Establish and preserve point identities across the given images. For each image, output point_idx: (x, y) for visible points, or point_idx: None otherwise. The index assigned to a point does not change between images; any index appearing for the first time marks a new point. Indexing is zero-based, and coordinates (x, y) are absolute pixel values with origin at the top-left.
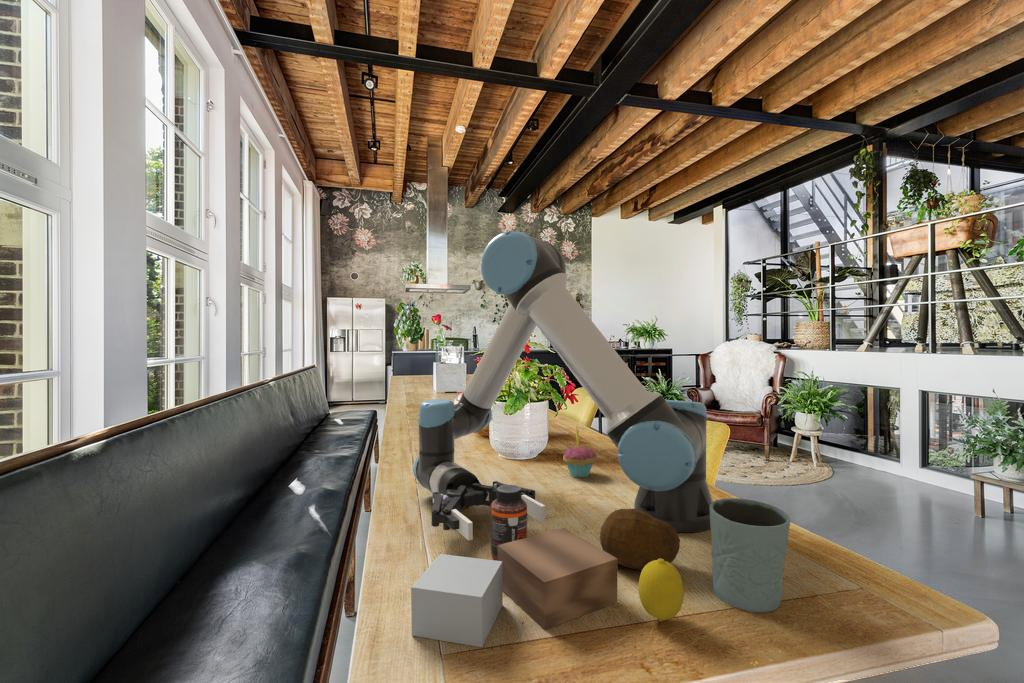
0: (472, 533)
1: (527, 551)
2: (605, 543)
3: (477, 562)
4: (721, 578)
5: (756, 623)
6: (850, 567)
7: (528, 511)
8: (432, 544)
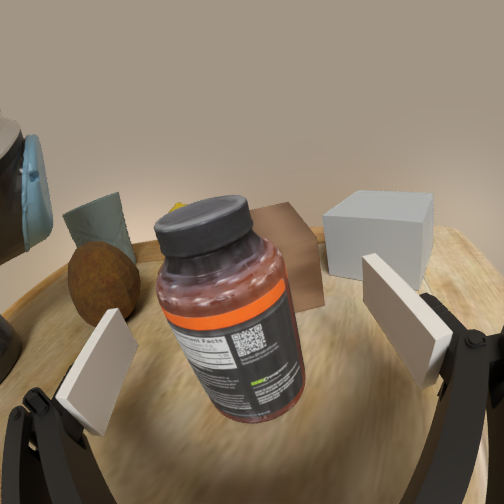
0: (363, 286)
1: (273, 228)
2: (131, 283)
3: (359, 212)
4: (126, 249)
5: (146, 253)
6: (47, 281)
7: (111, 392)
8: (468, 486)
